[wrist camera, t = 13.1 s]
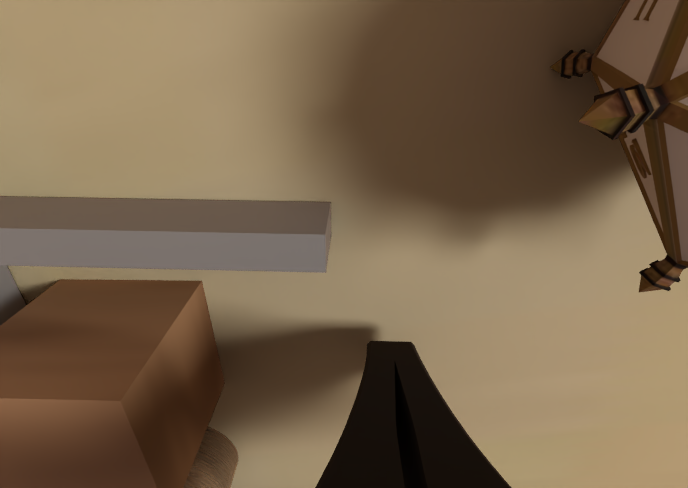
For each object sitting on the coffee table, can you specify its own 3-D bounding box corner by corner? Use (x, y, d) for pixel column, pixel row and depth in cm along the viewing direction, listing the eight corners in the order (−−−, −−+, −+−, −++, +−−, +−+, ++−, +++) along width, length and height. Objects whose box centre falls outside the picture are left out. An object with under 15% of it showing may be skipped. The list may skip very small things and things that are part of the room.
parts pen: (333, 517, 17) (331, 570, 16) (106, 508, 18) (78, 560, 16) (330, 202, 10) (325, 234, 8) (-63, 195, 10) (-150, 225, 8)
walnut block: (225, 382, 14) (170, 519, 10) (106, 379, 14) (3, 513, 10) (202, 279, 11) (120, 401, 7) (62, 278, 12) (-92, 395, 8)
